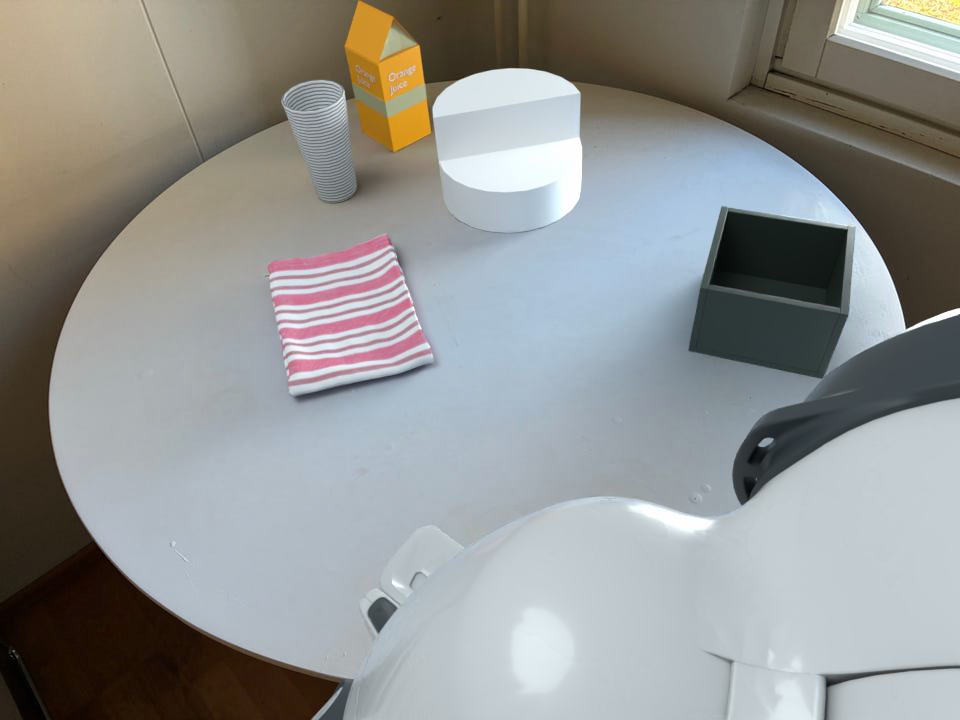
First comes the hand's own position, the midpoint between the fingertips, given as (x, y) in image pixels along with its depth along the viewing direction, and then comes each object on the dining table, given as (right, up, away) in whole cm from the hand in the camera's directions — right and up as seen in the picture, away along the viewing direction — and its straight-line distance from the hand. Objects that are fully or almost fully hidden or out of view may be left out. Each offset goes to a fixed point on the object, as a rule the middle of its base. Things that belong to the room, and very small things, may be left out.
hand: (553, 554), depth 64 cm
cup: (-27, +41, +50) cm, 70 cm away
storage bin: (+27, +21, +26) cm, 43 cm away
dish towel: (-23, +21, +31) cm, 44 cm away
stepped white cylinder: (-2, +41, +47) cm, 62 cm away
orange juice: (-20, +53, +59) cm, 82 cm away
